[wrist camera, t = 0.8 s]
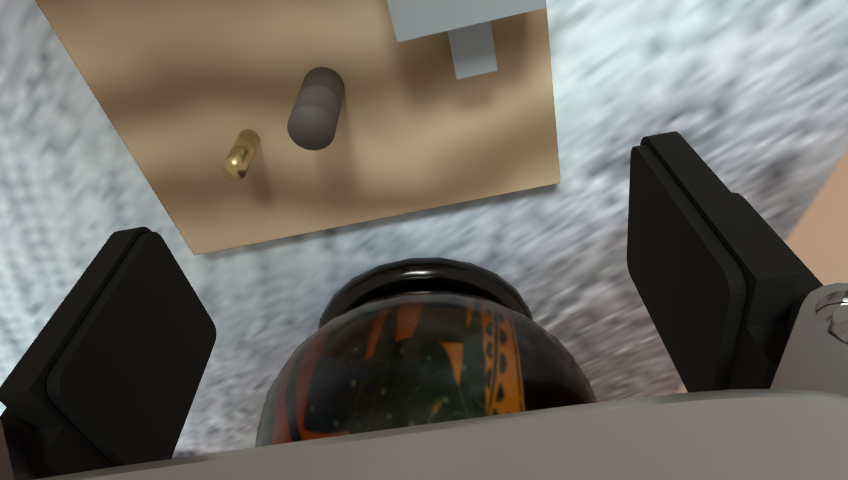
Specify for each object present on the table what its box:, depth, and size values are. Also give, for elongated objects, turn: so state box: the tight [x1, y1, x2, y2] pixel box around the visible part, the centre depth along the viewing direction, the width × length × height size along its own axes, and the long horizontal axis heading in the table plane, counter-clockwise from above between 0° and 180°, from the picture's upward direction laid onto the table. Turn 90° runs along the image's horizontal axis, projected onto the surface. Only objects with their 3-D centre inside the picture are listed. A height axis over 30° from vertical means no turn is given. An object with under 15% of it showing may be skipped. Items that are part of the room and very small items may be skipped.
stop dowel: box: [222, 129, 260, 180], centre depth 30 cm, size 1×1×4 cm
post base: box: [35, 0, 560, 255], centre depth 28 cm, size 19×24×6 cm
